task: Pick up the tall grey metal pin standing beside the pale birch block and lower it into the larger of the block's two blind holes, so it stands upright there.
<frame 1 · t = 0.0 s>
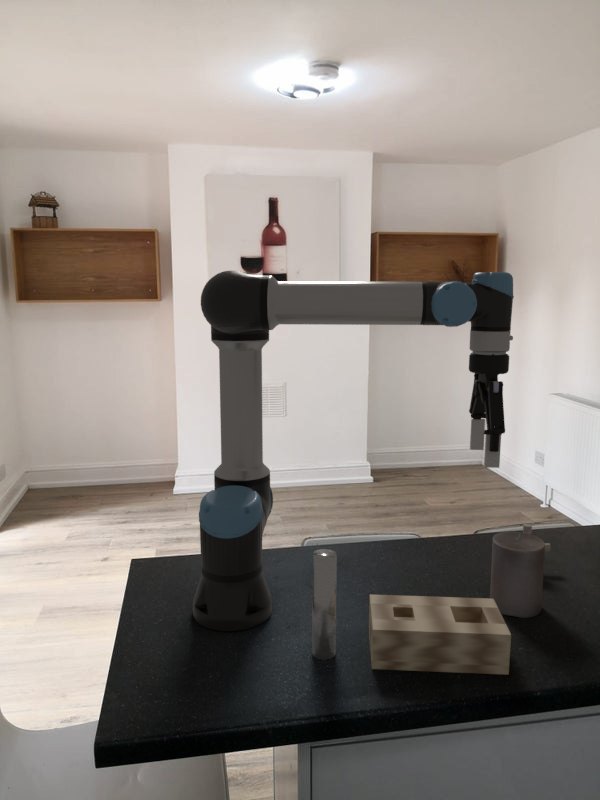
hand: (483, 458, 127), 28 cm above the kitchen counter, tool pointing down, fingers open, 13 cm apart
pipe connector: (524, 568, 141), on the kitchen counter
hole block: (434, 651, 108), on the kitchen counter
pillar candle: (514, 607, 124), on the kitchen counter
pin: (323, 653, 107), on the kitchen counter
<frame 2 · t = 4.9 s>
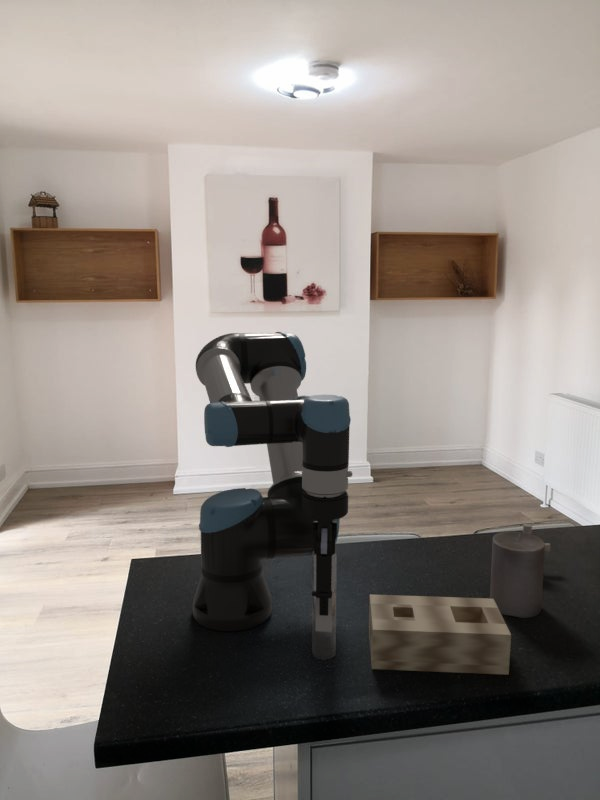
hand: (324, 622, 107), 6 cm above the kitchen counter, tool pointing down, fingers closed on pin, 4 cm apart
pin: (323, 653, 107), on the kitchen counter, touching gripper
everything else where it was.
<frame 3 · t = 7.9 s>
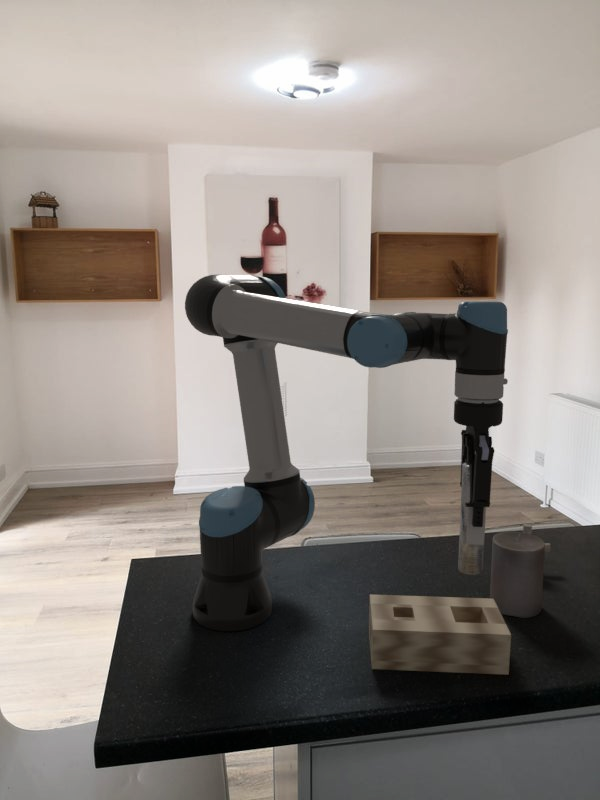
hand: (472, 537, 104), 21 cm above the kitchen counter, tool pointing down, fingers closed on pin, 4 cm apart
pin: (470, 569, 105), point 15 cm above the kitchen counter, touching gripper
everything else where it was.
when the fingers open (8 cm above the kitchen counter, at t = 11.1 s): pin stays where it is, resting on hole block.
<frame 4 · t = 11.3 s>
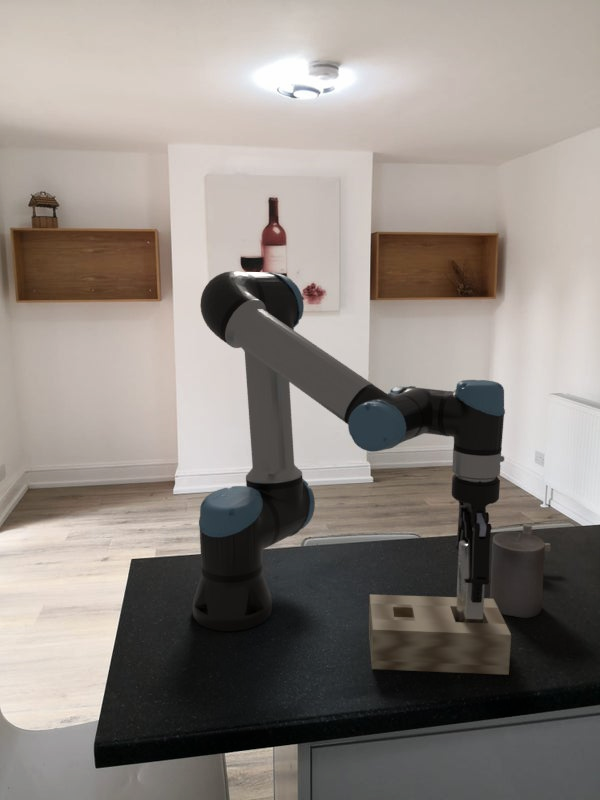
hand: (469, 606, 106), 9 cm above the kitchen counter, tool pointing down, fingers open, 7 cm apart
pin: (466, 644, 108), point 2 cm above the kitchen counter, touching hole block
everything else where it was.
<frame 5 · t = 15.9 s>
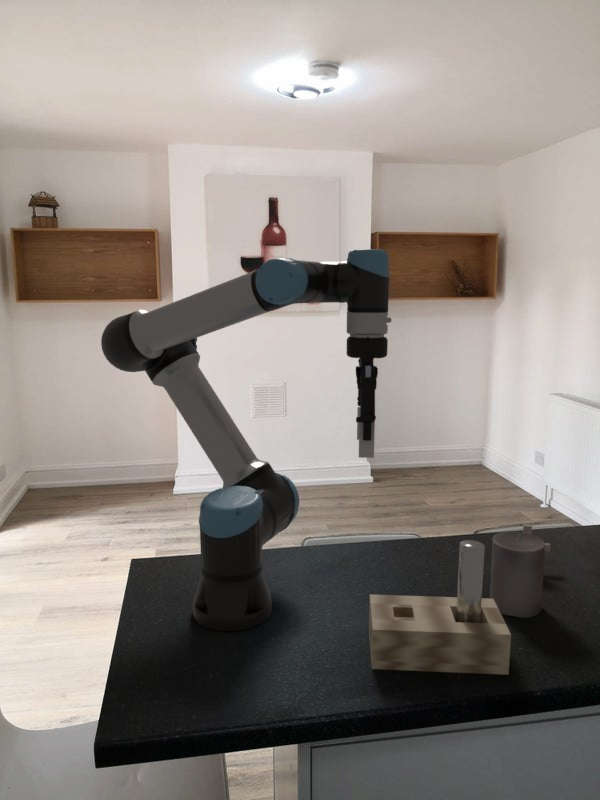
hand: (364, 448, 119), 32 cm above the kitchen counter, tool pointing down, fingers open, 13 cm apart
nothing on the kitchen counter moved.
at the end: pin 0.1 cm from the target spot on the hole block, point 1.5 cm above the hole block's base; pin tilted 0°; the gripper is holding nothing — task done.
